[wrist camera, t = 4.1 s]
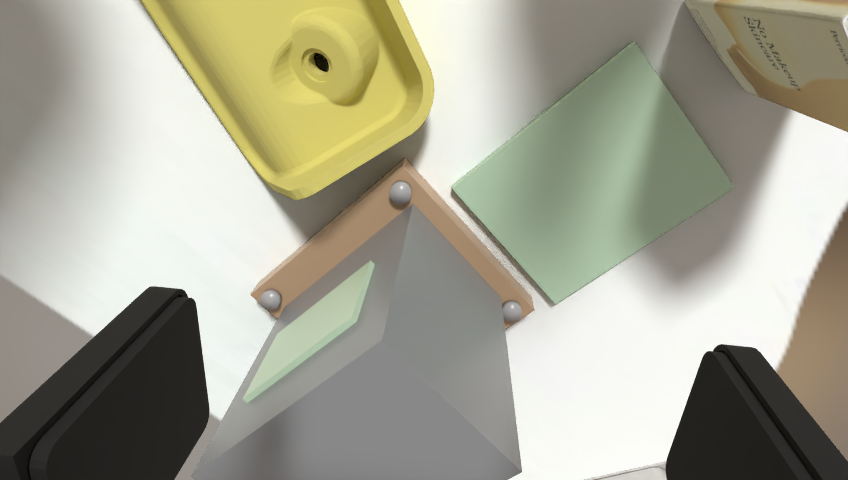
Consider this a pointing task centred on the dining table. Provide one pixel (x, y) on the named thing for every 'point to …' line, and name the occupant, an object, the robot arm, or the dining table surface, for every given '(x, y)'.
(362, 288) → the mounted unit
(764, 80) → the skincare box
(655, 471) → the emergency button
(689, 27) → the dining table surface
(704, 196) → the mat
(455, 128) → the dining table surface
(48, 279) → the dining table surface
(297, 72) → the plastic component
